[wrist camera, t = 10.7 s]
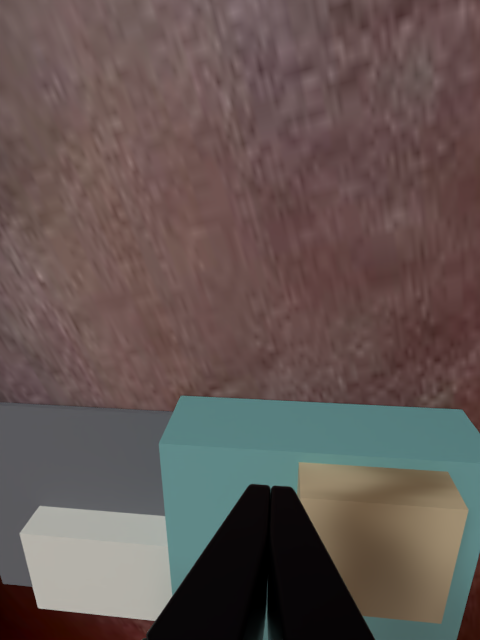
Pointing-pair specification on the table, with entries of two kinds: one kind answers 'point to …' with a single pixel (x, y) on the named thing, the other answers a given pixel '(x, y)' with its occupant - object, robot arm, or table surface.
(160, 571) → the white box
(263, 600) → the robot arm
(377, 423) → the plate
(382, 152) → the table surface
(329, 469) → the oak tile
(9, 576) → the mat
